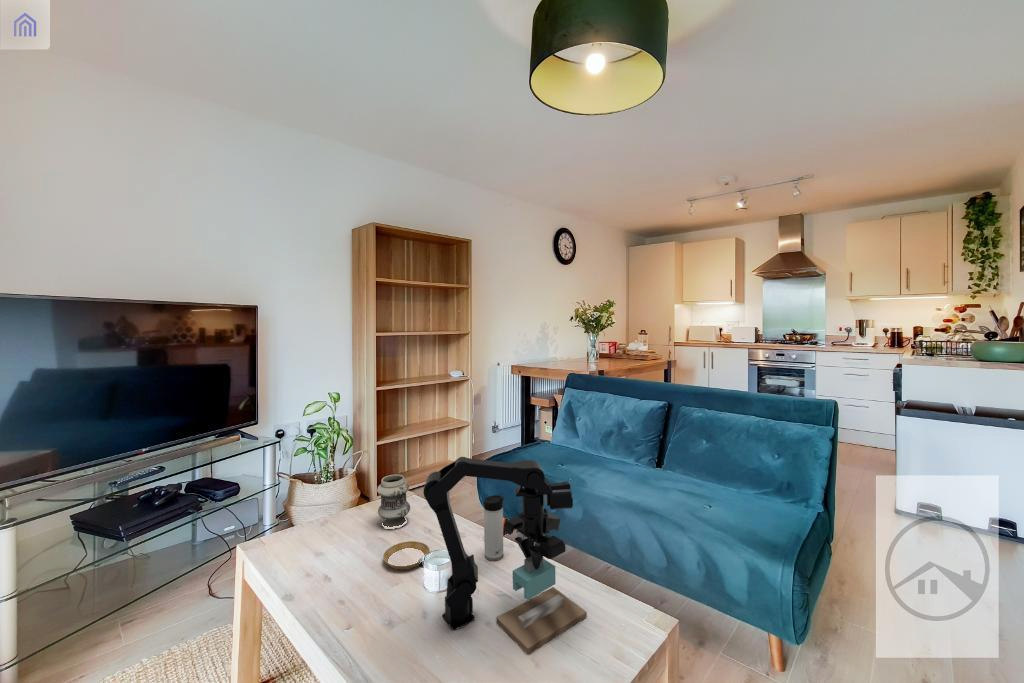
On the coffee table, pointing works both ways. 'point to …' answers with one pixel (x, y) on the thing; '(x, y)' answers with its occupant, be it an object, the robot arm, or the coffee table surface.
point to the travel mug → (493, 527)
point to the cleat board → (540, 619)
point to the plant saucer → (403, 545)
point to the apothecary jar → (393, 500)
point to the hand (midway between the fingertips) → (533, 566)
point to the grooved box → (533, 577)
